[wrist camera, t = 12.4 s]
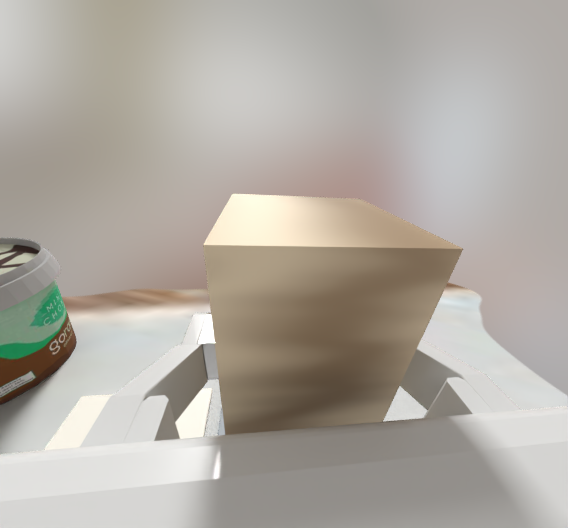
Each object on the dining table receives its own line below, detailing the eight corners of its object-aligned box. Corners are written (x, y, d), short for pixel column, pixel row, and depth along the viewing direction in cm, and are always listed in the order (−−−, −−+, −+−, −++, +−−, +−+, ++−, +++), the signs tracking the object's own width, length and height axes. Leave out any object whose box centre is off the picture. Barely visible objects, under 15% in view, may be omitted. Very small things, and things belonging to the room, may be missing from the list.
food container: (90, 383, 19) (38, 282, 14) (-24, 430, 15) (-143, 318, 11) (91, 306, 27) (59, 228, 23) (18, 325, 24) (-37, 238, 19)
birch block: (233, 500, 9) (203, 244, 4) (241, 383, 13) (233, 193, 8) (352, 486, 9) (463, 248, 4) (322, 378, 14) (360, 198, 9)
